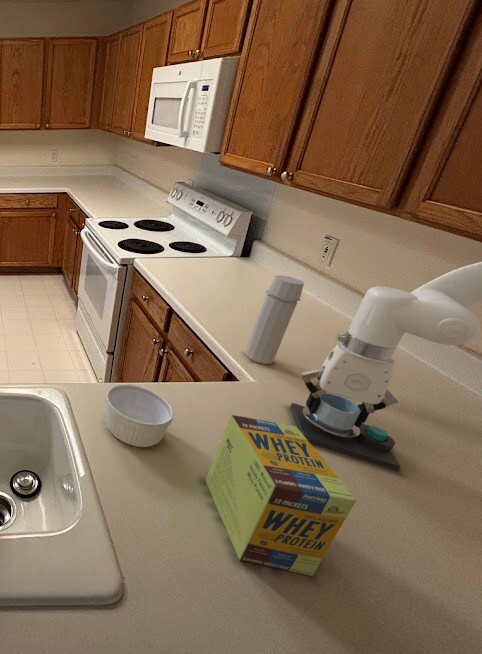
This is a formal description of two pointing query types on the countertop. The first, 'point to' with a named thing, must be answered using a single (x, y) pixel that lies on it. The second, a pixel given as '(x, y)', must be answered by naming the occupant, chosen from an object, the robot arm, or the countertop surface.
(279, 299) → the water bottle
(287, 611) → the countertop surface
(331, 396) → the bowl
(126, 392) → the ramekin
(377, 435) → the tare button
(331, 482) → the protein box
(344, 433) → the scale plate
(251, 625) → the countertop surface
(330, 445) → the scale
